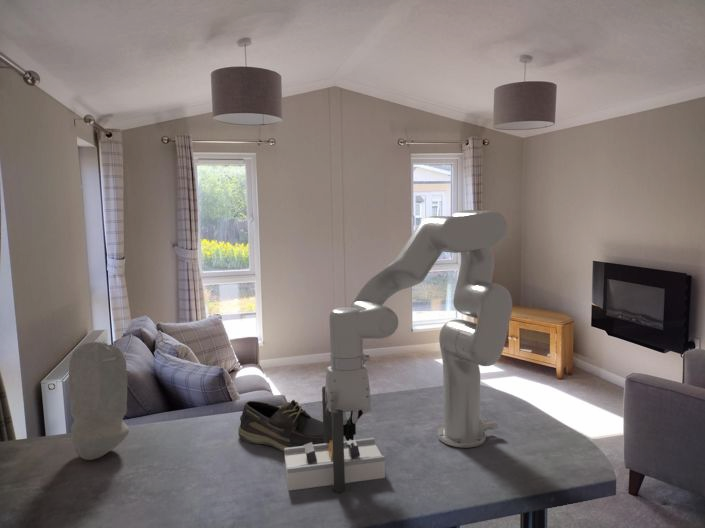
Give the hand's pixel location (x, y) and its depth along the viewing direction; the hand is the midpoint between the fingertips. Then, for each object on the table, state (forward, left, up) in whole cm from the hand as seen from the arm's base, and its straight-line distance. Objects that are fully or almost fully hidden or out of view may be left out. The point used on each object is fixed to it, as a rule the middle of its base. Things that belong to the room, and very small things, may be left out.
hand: (348, 437), depth 119 cm
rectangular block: (+4, 0, -4) cm, 6 cm away
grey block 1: (+9, 0, -4) cm, 10 cm away
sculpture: (+60, -23, -8) cm, 64 cm away
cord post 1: (+4, -8, -8) cm, 12 cm away
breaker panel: (+4, 0, -8) cm, 9 cm away
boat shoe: (+13, -18, -9) cm, 24 cm away
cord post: (+4, +7, -8) cm, 12 cm away
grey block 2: (-1, 0, -4) cm, 4 cm away
